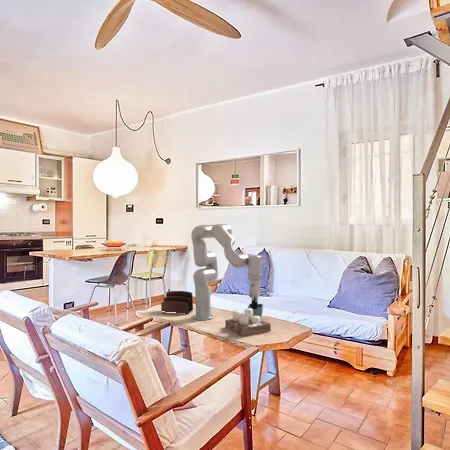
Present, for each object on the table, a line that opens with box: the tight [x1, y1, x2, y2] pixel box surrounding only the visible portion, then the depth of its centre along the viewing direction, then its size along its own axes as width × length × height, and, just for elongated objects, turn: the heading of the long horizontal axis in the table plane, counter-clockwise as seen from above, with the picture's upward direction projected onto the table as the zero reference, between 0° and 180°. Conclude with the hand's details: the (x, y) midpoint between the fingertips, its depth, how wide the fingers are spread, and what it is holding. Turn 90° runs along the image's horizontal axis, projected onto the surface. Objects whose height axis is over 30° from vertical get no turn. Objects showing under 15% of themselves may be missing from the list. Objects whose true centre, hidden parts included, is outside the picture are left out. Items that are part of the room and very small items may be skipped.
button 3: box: [243, 307, 253, 321], centre depth 205 cm, size 5×5×6 cm
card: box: [248, 323, 262, 327], centre depth 192 cm, size 4×7×1 cm, turn 117°
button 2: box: [239, 312, 249, 327], centre depth 195 cm, size 5×5×6 cm
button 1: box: [232, 310, 242, 323], centre depth 202 cm, size 5×5×6 cm
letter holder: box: [160, 290, 194, 315], centre depth 241 cm, size 10×20×14 cm, turn 75°
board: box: [224, 318, 272, 337], centre depth 199 cm, size 20×18×4 cm
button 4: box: [252, 316, 261, 324], centre depth 198 cm, size 5×5×6 cm
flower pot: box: [247, 303, 264, 320], centre depth 217 cm, size 9×9×9 cm
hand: (254, 308), depth 199 cm, fingers closed
